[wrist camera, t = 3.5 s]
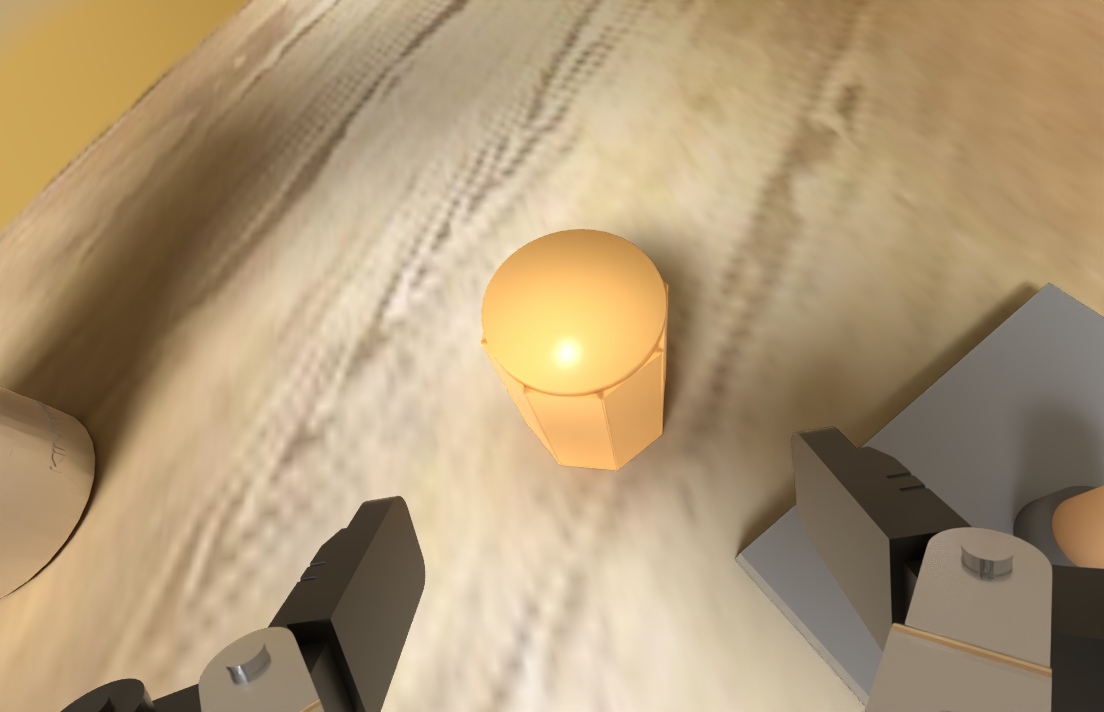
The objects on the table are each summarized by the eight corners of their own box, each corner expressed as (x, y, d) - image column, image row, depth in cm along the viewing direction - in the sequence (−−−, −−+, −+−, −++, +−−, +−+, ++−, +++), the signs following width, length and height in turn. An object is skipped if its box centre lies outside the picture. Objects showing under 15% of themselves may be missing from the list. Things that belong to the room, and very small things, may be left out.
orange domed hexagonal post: (585, 497, 23) (553, 428, 16) (505, 396, 26) (446, 298, 18) (693, 410, 24) (708, 308, 17) (605, 321, 26) (586, 200, 19)
